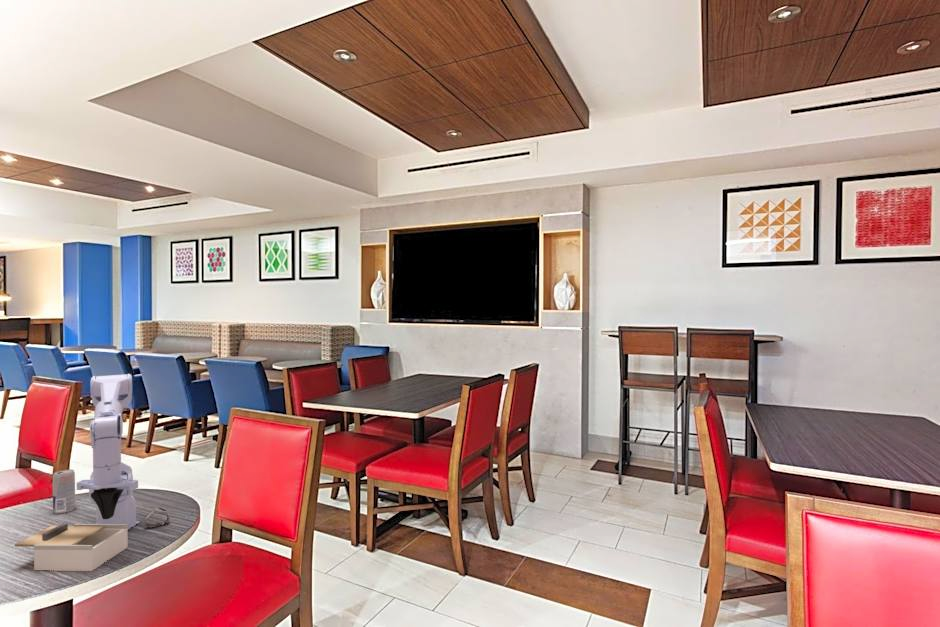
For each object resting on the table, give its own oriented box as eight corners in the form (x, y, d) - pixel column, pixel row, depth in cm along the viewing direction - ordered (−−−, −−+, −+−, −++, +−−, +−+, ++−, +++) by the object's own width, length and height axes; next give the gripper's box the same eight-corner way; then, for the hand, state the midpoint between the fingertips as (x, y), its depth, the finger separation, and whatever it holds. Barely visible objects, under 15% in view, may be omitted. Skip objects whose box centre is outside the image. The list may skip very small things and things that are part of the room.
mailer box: (75, 546, 132) (75, 523, 132) (127, 547, 131) (127, 524, 131) (34, 570, 120) (33, 545, 120) (91, 571, 119) (91, 546, 119)
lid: (51, 527, 131) (51, 519, 131) (104, 528, 130) (103, 520, 130) (14, 546, 121) (14, 537, 121) (71, 546, 120) (71, 538, 120)
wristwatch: (170, 524, 145) (170, 507, 145) (145, 531, 141) (145, 513, 141) (167, 520, 148) (167, 503, 148) (142, 527, 143) (142, 509, 143)
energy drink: (64, 506, 158) (64, 468, 158) (79, 507, 158) (79, 469, 158) (48, 513, 153) (47, 474, 153) (63, 514, 152) (63, 475, 152)
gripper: (66, 468, 123) (66, 524, 123) (123, 469, 123) (124, 524, 123) (88, 460, 130) (89, 512, 130) (143, 460, 130) (144, 512, 130)
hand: (108, 517), depth 127 cm, fingers closed
